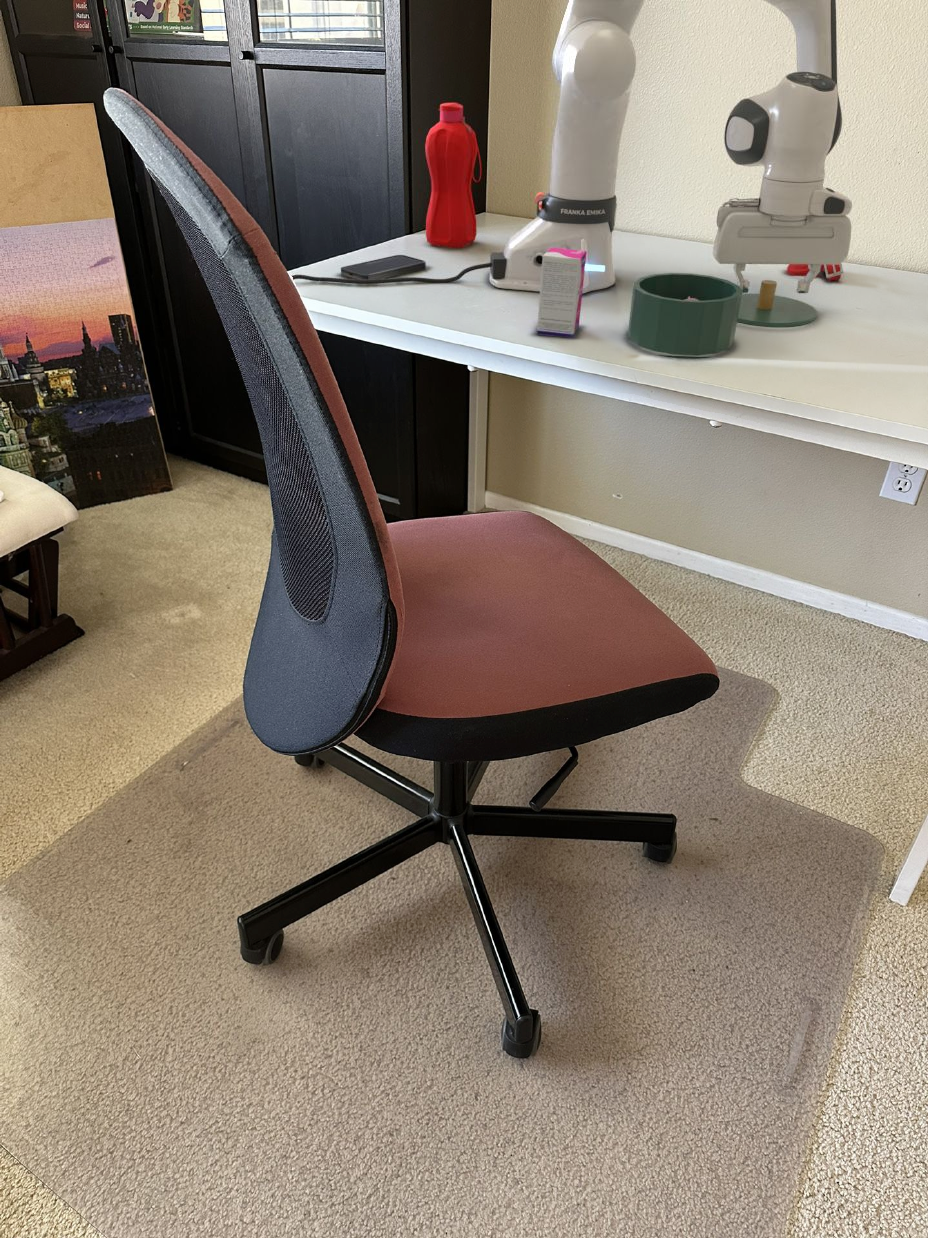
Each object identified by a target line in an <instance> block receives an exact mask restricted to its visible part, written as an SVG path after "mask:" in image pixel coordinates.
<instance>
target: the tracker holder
mask: <svg viewBox="0 0 928 1238" xmlns="http://www.w3.org/2000/svg"><path fill="white" fill-rule="evenodd" d="M809 271H810V269H809V268H808V264H787V267H786V272H787V273H786V274H788V276H791V277H805V276H806V275H807V274H808V272H809ZM823 271H824V272H825V277H826V279H828V280H827V281H829V282H833V281H837V280H840V279H841V278H842V275H844V269H843V264H842V263H841V264H838V265H837V264H822V265H821V269H820V272H823Z"/></svg>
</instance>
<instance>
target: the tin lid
mask: <svg viewBox="0 0 928 1238" xmlns="http://www.w3.org/2000/svg"><path fill="white" fill-rule="evenodd" d="M777 285H778V282H777V281H775V280H772V279H764V280H761V282H760V287H759V291H758V292H759V293H742V298H741V303H740V309H739V314H738V319H737V323H741V324H744V325H745V324H746V325H751V326H758V327H770V328H771V327H772V328H781V327H782V328H789V327H797V326H798V327H799V326H802V325H807V324H810V323H812V322H813V321H815V319H816V318H817V314H818V311H817V310H816V309H815V307H813V306H812V305H810V304H809V303H806V302H804V301H801V300H799V299H794V298H791V297H786V296H781V295H777V294H776V290H777Z"/></svg>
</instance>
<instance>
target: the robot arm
mask: <svg viewBox="0 0 928 1238" xmlns="http://www.w3.org/2000/svg"><path fill="white" fill-rule="evenodd" d="M645 1H646V0H569V1H568V4H567V8H566V10H565V14H564V17H563V19H562V23H561V25H560V29H559V32H558V35H557V39H556V42H555V45H554V48H553V52H552V59H551V60H552V63H551V64H552V70H553V71H552V72H553V74H554V77H555V79H556V81H557V83H558V84H559V85H558V86H560V93H559V101H558V111H557V116H556V124H555V130H554V136H553V139H552V143H551V144H552V145H551V147H552V148H551V165H550V166H551V167H550V180H549V192H548V193H545V192H543V191H539V192H538V193H536V195H535V198H534V202H535V204H536V217H535V218H534V219H532V220H531V221H530V222H529V223H527V224H526V225H524V226H523V227H522V228H521V229H519V231H517V232H516V233H514V234H513V235H511V237H510V238H509V239H508V241H507V242H506V245H505V247H504V251H501V252H499V251H498V252H495V251H494V252H491V251H490V259H489V260H490V262H487V263H481V264H475V265H472V266H469V267H466V268H464V269H462V270H461V271H460V272H459V273H458V274H457V275H454V276H452V277H448V278H429V277H416V276H415V277H414V276H410V277H409V276H408V277H406V276H405V277H393V278H392V277H389V278H384V279H374V280H357V279H352V278H340V277H325V276H312V275H307V274H292V275H291V276H292V277H293V280H292V281H294V280H305V281H310V282H311V281H312V282H324V283H326V282H327V283H340V284H351V285H352V284H354V285H377V284H380V285H381V284H392V283H407V282H410V283H412V282H415V283H416V282H418V283H427V284H448V283H453V282H456V281H458V280H460V279H461V278H462V277H464V275H466V274H468V273H469V272H472V271H476V270H481V269H487V268H489V283H490V284H491V285H492V286H494V287H495V288H499V289H507V290H516V291H517V290H518V291H529V292H540V286H541V273H542V260H543V255H544V254H545V253H546V252H547V251H548V250H549V249H550V248H560V249H570V250H582V251H586V252H587V253H586V262H585V272H584V281H583V291H582V295H583V294H586V293H588V292H591V291H597V290H603V289H607V288H610V287H611V286H614V285H615V284H616V276H615V269H614V260H613V231H614V229H615V226H616V220H617V209H618V208H617V207H618V203H617V201H618V200H617V199H618V198H617V195H616V194H615V193H616V185H617V184H616V183H617V174H618V165H619V164H618V163H619V154H620V153H619V152H620V148H621V147H620V146H621V145H620V144H621V139H622V136H623V135H622V134H623V130H624V125H625V121H626V117H627V112H628V106H629V103H630V102H629V101H630V95H631V90H632V85H633V80H634V77H635V73H636V70H637V69H636V68H637V56H636V51H635V47H634V44H633V42H632V40H631V37H630V36H631V33H632V32H633V28H634V27H635V24H636V21H637V19H638V17H639V15H640V12H641V9H642V7H643V5H644V3H645ZM763 1H764V2H766V3H768V4H770V5H771V6H773V7H775V8H776V9H778V10H779V11H780V12H781V13H783V14H784V15H785V16H786V18H787V19H788V20H789V21H790V23H791V26H792V28H793V30H794V33H795V34H794V35H795V42H796V43H795V44H796V45H795V46H796V47H795V48H796V71H793V72H791V73H788V74H786V75H785V76H784V77H783V78H782V79H781V80H780V82H779V83H778V84H777V85H776V86H774V87H772V88H770V89H769V90H767V91H764V92H762V93H758V94H756V95H753V96H750V97H747V98H742V99H741V100H739V102H738V103H736V105H735V106H734V107H733V108H732V110H731V112H730V113H729V115H728V117H727V119H726V123H725V128H724V134H723V136H724V138H723V139H724V141H723V142H724V147H725V151H726V153H727V156H728V157H729V158H730V160H731V161H732V162H733V163H734V164H736V165H737V166H738V165H739V166H743V167H749V168H750V167H763V166H764V171H763V174H762V179H761V185H760V191H759V196H758V197H757V198H756V197H755V198H751V197H750V198H738V197H737V198H734V197H733V198H730V199H729V200H728V201H725V202H723V203H722V204H721V205H720V206H719V208H718V211H717V216H716V226H717V232H716V235H715V239H714V243H713V247H712V256H713V259H715V261H716V262H717V263H718V264H720V265H733V267H732V268H733V272H734V274H735V276H736V278H737V285H738V286H739V287H740V288H741V290H742V294H749V291H750V290H749V287H750V284H751V283H750V281H749V279H748V278H744V275H743V274H742V272H744V271H746V265H789V264H808V268H809V269H810V271H809V272H808V274H807V275H805V276H804V278H802V279H798V280H797V286H796V289H795V290H796V292H797V293H798V294H809V292H810V286H811V283H812V282H813V281H814V280H815V278H816V277H817V276H818V275H819V273H820V272H821V271H820V269H821V265H822V264H837V265H838V264H842V263H844V261H845V260H847V258H848V255H849V252H850V247H851V246H850V245H851V237H852V221H851V220H850V218H849V217H848V215H850V213H851V211H852V207H853V202H852V201H851V199H850V198H848V197H847V196H846V195H845V194H842V193H840V192H838V191H836V190H833V189H832V188H830V187H824V183H825V176H826V170H825V169H826V168H825V166H826V165H825V164H826V159H827V156H828V155H829V154H830V153H831V152H832V150H833V149H834V148H835V145H836V144H837V143H838V140H839V139H840V135H841V132H842V127H843V114H842V107H841V102H840V97H839V96H840V95H839V89H838V88H839V87H838V55H837V54H838V49H837V46H838V43H837V41H838V40H837V39H838V38H837V36H838V35H837V34H838V33H837V2H836V1H837V0H763Z"/></svg>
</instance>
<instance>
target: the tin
mask: <svg viewBox="0 0 928 1238" xmlns="http://www.w3.org/2000/svg"><path fill="white" fill-rule="evenodd" d="M742 294H743V293H742V290H741V288H740V287H739V286H738V284H736V283H734V282H732V281H731V280H728V279H724V278H720V277H717V276H713V275H712V276H711V275H706V274H705V275H704V274H699V273H688V272H687V273H686V272H666V273H654V274H649V275H646V276H642V277H639V278H638V279H636V280H635V281H633V285H632V294H631V301H630V311H629V319H628V320H629V321H628V328H627V329H628V330H627V335H628V340H629V341H631V342H632V343H634V344H635V345H637V346H638V347H641V348H643V349H647V350H648V351H649V350H650V351H653V352H657V353H663V354H661V355H660V354H658V356H659V357H664V358H670V359H671V358H672V359H685V360H698V359H699V360H701V359H708V358H711V356H706V355H713V354H718V353H722V352H724V351H727V350H730V348H731V346H732V345H734V340H735V335H736V329H737V324H738V322H737V319H738V314H739V309H740V303H741V298H742ZM689 296H690V298H695V299H698V300H699V301H694V300H685V299H688V297H689ZM664 354H669V355H664ZM704 355H705V356H704Z"/></svg>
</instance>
